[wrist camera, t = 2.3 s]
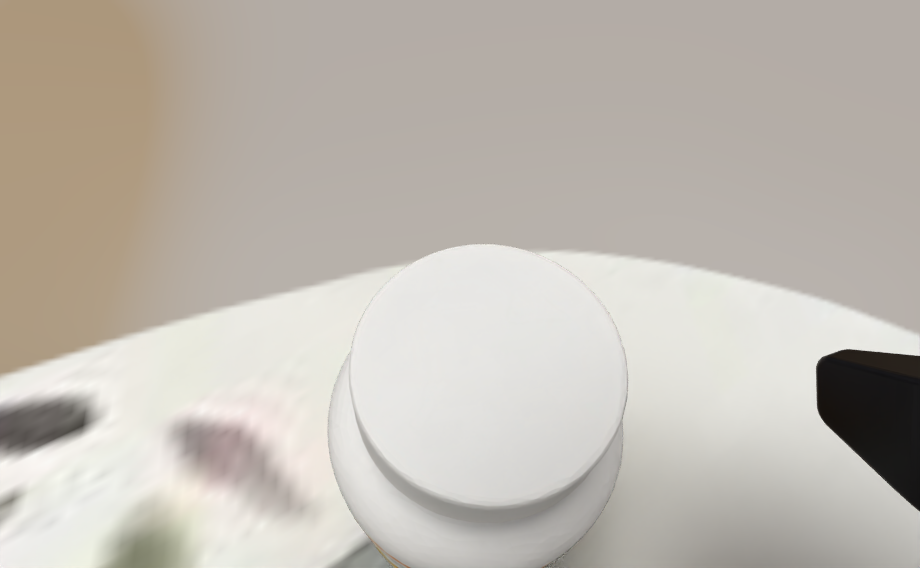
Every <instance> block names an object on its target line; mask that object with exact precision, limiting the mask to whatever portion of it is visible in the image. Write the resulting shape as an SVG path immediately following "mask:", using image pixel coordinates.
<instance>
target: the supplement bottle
mask: <svg viewBox="0 0 920 568" xmlns="http://www.w3.org/2000/svg"><path fill="white" fill-rule="evenodd" d="M627 392H628V371H627V361H626V356H625V350H624V347H623V345H622V342H621V338H620V335H619V332H618V330H617V328H616V326H615V324H614V322H613V320H612V318H611V316H610V314H609V312H608V311H607V310H606V308H605V307H604V305H603V304H602V303H601V301H600V300H599V299H598V297H597V296H596V295H595V294H594V293H593V292H592V291H591V290H590V289H589V288H588V287H587V286H586V285H585V284H584V283H583V282H582V281H581V280H580V279H579V278H578V277H576V276H575V275H574V274H572V273H571V272H570V271H568V270H567V269H565V268H563V267H562V266H560V265H559V264H557V263H555V262H553V261H551V260H549V259H547V258H545V257H543V256H540V255H538V254H535V253H533V252H530V251H527V250H523V249H519V248H514V247H508V246H502V245H494V244H480V245H465V246H458V247H453V248H449V249H445V250H442V251H439V252H435V253H433V254H430V255H428V256H426V257H423V258H421V259H419V260H417V261H415V262H413V263H411V264H410V265H408V266H407V267H405V268H404V269H402V270H401V271H400V272H398V273H397V274H396V275H395V276H393V277H392V278H391V279H390V280H389V281H388V282H387V283H386V284H385V285H384V286H383V287H382V288H381V289H380V290H379V292H378V293H377V294H376V295H375V296H374V297H373V299H372V300H371V302H370V303H369V305H368V306H367V308H366V309H365V311H364V313H363V315H362V317H361V319H360V321H359V323H358V326H357V329H356V331H355V334H354V338H353V342H352V347H351V351H350V353H349V354H348V356H347V358H346V360H345V362H344V363H343V365H342V367H341V370H340V372H339V375H338V377H337V380H336V382H335V385H334V389H333V393H332V397H331V402H330V407H329V415H328V446H329V453H330V459H331V463H332V467H333V471H334V475H335V477H336V480H337V483H338V486H339V488H340V491H341V493H342V496H343V497H344V499H345V501H346V503H347V506H348V508H349V510H350V511H351V513H352V515H353V516H354V518H355V520H356V521H357V523H358V524H359V525H360V527H361V528H362V529H363V531H364V532H365V533H366V534H367V536H368V537H369V538H370V540H371V541H372V542H373V544H374V545H375V546H376V548H377V549H378V550H379V552H380V553H381V554H382V556H383V557H384V558H385V559H386V560H387V561H388V563H389V564H390V565H391V566H392V567H393V568H543V567H545V566H547V565H548V564H550V563H551V562H553V561H554V560H556V559H557V558H559V557H560V556H562V555H563V554H564V553H565V552H567V551H568V550H569V549H570V548H571V547H572V546H573V545H574V544H576V543H577V542H578V541H579V540H580V539H581V538H582V537H583V536H584V534H585V533H586V532H587V531H588V530H589V529H590V528H591V527H592V525H593V524H594V523H595V521H596V520H597V518H598V517H599V516H600V514H601V513H602V511H603V509H604V507H605V505H606V504H607V502H608V500H609V498H610V495H611V493H612V491H613V488H614V486H615V482H616V479H617V476H618V472H619V469H620V465H621V459H622V447H623V423H622V419H623V414H624V410H625V406H626V402H627Z"/></svg>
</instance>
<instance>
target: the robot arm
mask: <svg viewBox="0 0 920 568" xmlns="http://www.w3.org/2000/svg"><path fill="white" fill-rule="evenodd" d="M816 387H817V409H818V412H819V415H820V417H821V418H822V420H823V421H824V423H825V424H826V425H827V426H828V427H829V428H830V429H831V430H832V431H833V432H834V433H836V434H837V435H838V436H839V437H840V438H841V439H842V440H843V441H844V442H845V443H846V444H847V445H848V446H849V447H850V448H851V449H852V450H853V451H855V452H856V453H857V454H858V455H859V456H860V457H861V458H862V459H863V460H864V461H865V462H866V463H867V464H868V465H869V466H870V467H871V468H872V469H874V470H875V471H876V472H877V473H878V474H879V475H880V476H881V477H882V478H883V479H884V480H885V481H886V482H887V483H888V484H889V485H890V486H891V487H893V488H894V489H895V490H896V491H897V492H898V493H899V494H900V495H901V496H902V497H903V498H905V499H906V500H907V501H908V502H909V503H910V504H911V505H913V506H914V507H915V508H916V509H917V510H919V511H920V356H914V355H903V354H893V353H882V352H872V351H861V350H851V349H846V350H841V351H838V352H835V353H832V354H829V355H827V356H824V357H822V358H821V359H820V360H819V361H818V363H817V366H816Z"/></svg>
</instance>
